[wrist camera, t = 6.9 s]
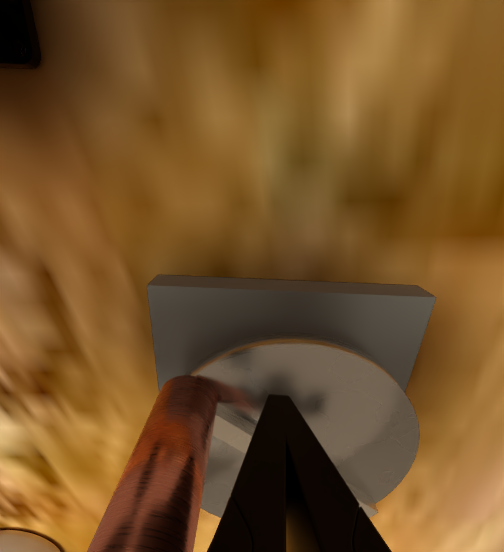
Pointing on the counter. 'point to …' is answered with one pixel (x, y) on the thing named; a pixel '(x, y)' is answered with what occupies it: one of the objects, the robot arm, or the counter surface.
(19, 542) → the milk bottle
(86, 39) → the counter surface
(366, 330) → the base plate
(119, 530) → the handwheel
